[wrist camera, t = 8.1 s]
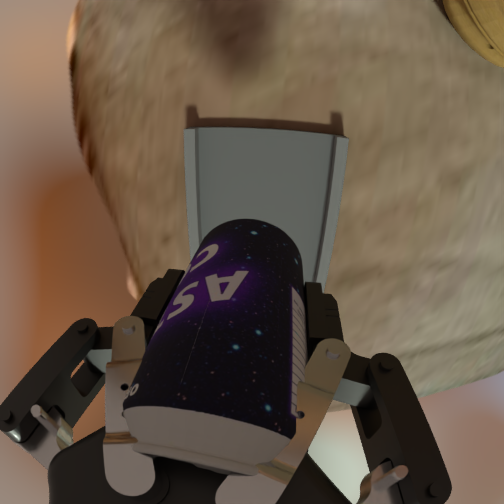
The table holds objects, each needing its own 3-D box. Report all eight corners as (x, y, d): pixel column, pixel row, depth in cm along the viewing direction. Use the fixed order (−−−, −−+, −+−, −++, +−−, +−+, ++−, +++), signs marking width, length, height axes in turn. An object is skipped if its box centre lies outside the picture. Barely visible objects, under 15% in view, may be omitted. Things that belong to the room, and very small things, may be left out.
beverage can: (263, 190, 14) (203, 440, 4) (320, 272, 16) (339, 494, 6) (181, 245, 16) (73, 439, 6) (241, 311, 18) (201, 500, 8)
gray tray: (190, 127, 24) (183, 129, 23) (344, 135, 23) (348, 138, 22) (202, 322, 36) (198, 333, 35) (310, 332, 35) (311, 344, 34)
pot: (413, 19, 16) (468, -7, 7) (439, -44, 10) (483, -73, 2) (496, 89, 17) (559, 100, 9) (515, 23, 12) (569, 20, 3)
